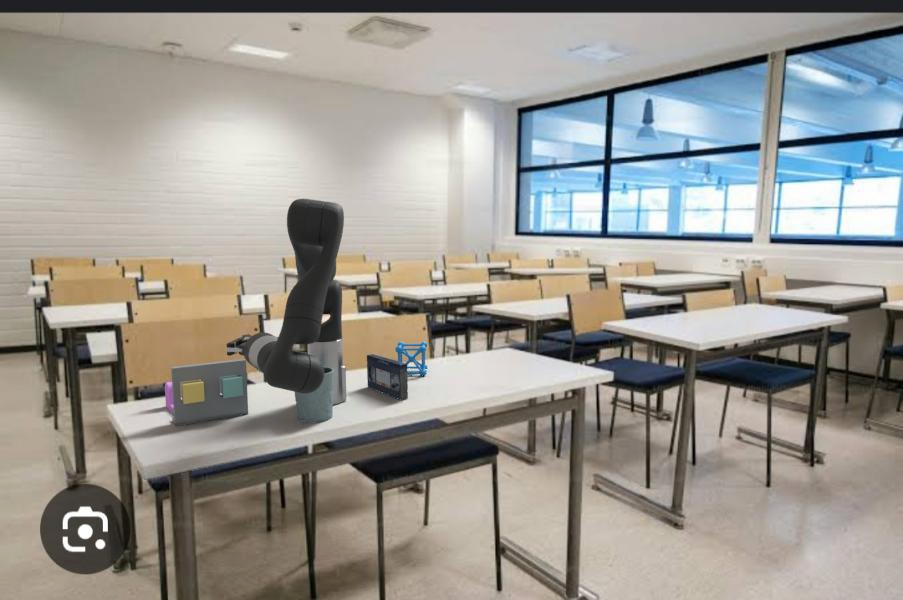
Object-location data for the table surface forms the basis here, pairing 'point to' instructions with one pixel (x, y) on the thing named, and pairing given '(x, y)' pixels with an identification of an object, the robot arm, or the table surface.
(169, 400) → the bracket
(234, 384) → the teal button
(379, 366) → the vhs cassette tape
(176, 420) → the panel
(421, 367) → the molecular structure
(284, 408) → the table surface
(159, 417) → the table surface
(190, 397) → the mustard button
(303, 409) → the teal cup
